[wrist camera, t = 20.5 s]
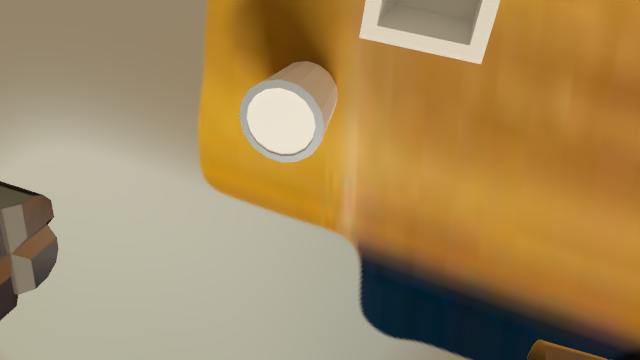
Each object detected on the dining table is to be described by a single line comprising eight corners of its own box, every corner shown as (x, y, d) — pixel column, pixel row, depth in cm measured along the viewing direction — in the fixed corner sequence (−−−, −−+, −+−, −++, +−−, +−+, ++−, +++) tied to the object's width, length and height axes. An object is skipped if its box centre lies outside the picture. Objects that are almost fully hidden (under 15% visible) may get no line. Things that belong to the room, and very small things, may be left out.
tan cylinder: (285, 39, 46) (255, 63, 40) (358, 77, 46) (338, 107, 40) (258, 106, 50) (227, 137, 44) (325, 142, 50) (303, 178, 44)
